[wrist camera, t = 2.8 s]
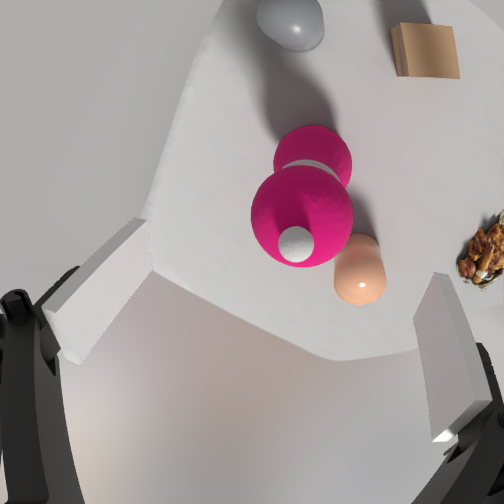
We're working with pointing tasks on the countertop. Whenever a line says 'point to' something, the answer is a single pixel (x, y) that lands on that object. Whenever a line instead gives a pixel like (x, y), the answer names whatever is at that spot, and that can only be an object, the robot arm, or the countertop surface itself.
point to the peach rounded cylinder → (359, 270)
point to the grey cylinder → (292, 23)
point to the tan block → (424, 50)
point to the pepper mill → (305, 199)
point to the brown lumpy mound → (484, 256)
